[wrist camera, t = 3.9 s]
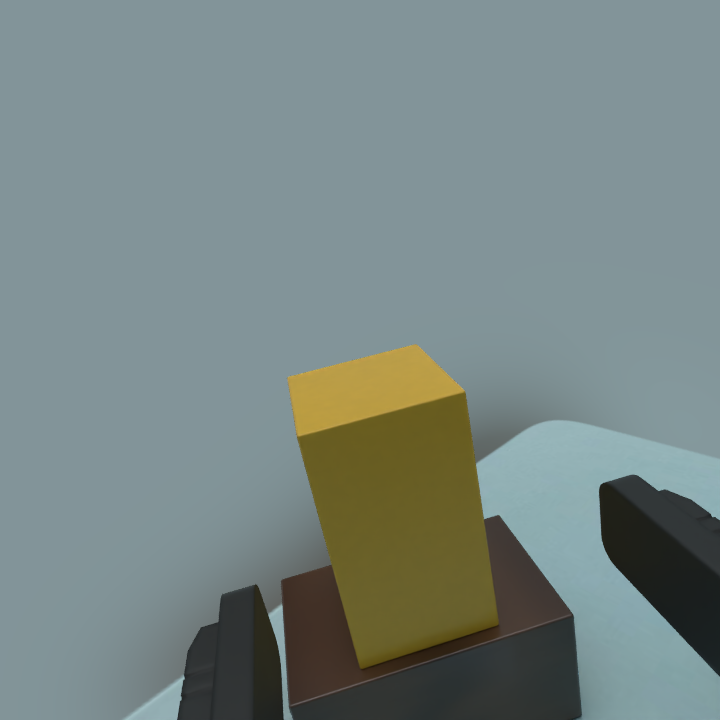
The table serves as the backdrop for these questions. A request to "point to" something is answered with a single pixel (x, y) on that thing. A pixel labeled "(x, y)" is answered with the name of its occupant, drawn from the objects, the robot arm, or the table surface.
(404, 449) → the yellow block
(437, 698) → the walnut block
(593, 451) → the table surface
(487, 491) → the table surface
